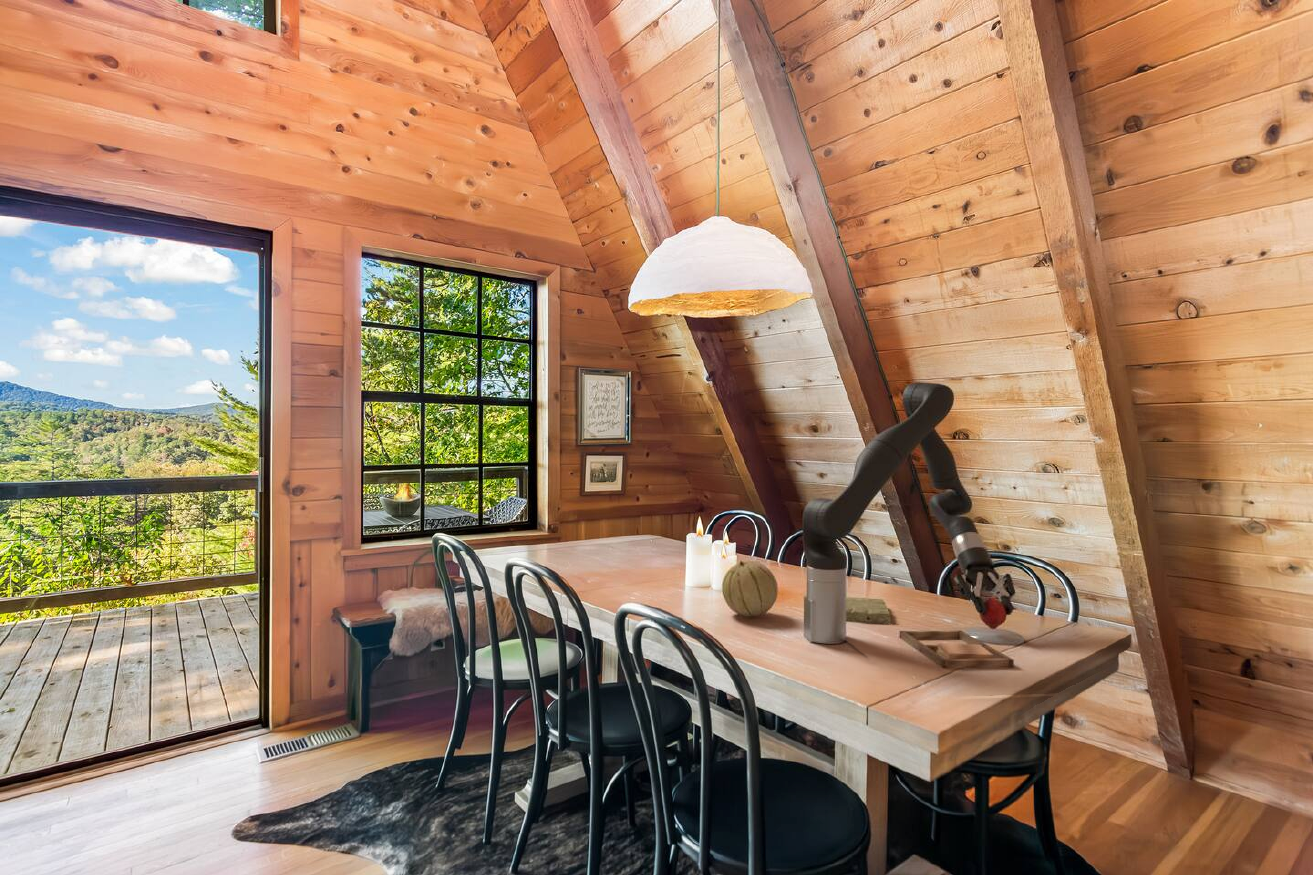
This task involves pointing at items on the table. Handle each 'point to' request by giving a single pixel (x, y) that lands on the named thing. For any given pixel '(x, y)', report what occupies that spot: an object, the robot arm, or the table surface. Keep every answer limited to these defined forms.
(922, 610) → the table surface
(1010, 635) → the plate
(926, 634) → the brown flat frame
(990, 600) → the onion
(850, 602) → the green flat block
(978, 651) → the offcut top
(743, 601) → the cantaloupe
